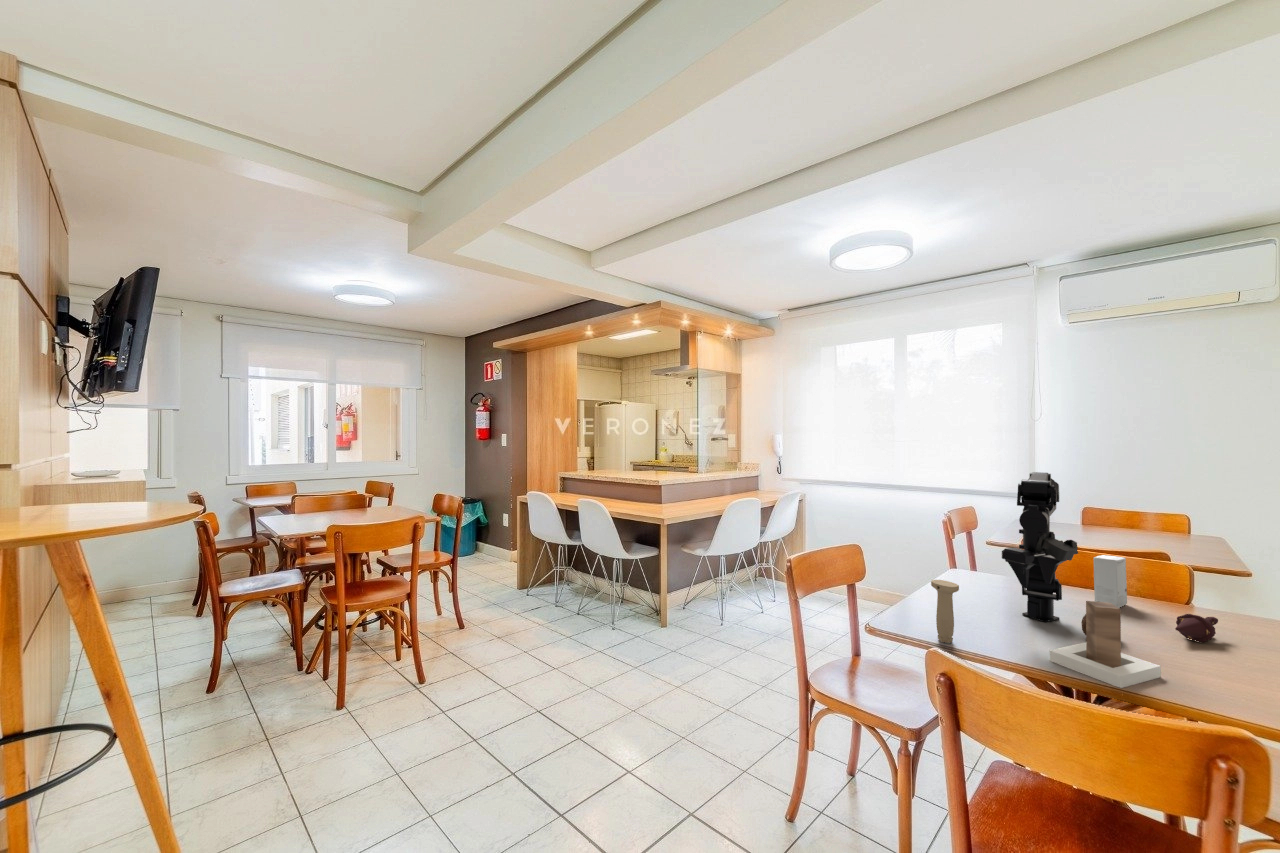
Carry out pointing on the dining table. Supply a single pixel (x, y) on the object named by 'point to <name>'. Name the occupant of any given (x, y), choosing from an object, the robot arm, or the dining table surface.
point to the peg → (1103, 633)
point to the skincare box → (1110, 580)
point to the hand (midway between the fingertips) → (1036, 585)
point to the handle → (945, 609)
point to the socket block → (1119, 676)
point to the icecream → (1196, 627)
